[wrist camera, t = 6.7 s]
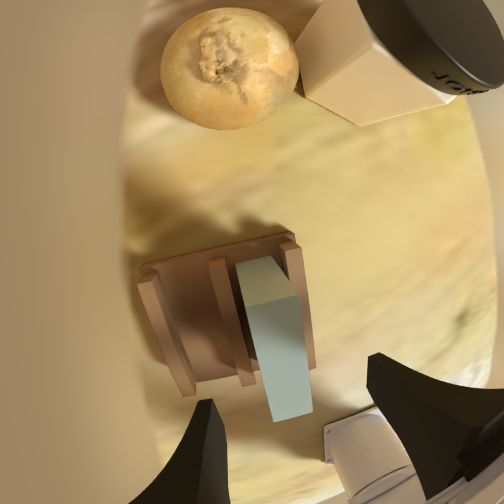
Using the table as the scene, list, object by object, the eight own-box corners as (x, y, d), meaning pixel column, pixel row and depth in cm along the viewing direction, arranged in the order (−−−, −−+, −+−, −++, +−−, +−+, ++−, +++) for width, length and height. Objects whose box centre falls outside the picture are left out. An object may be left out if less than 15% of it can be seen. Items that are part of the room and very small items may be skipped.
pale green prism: (288, 353, 21) (313, 411, 14) (258, 361, 20) (273, 422, 14) (271, 255, 18) (298, 294, 12) (235, 263, 18) (245, 307, 12)
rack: (307, 349, 22) (319, 371, 19) (184, 376, 21) (181, 400, 18) (290, 230, 19) (303, 240, 16) (143, 264, 18) (131, 278, 16)
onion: (159, 49, 15) (136, -4, 8) (269, 28, 15) (292, -28, 9) (181, 150, 17) (161, 132, 10) (298, 123, 18) (341, 96, 11)
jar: (338, 145, 18) (470, 122, 7) (268, 55, 16) (328, -57, 4) (410, 94, 18) (524, 65, 6) (352, 17, 15) (436, -56, 4)
